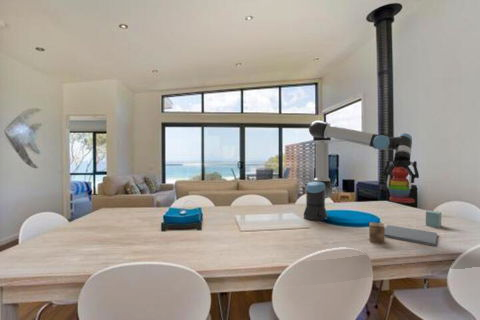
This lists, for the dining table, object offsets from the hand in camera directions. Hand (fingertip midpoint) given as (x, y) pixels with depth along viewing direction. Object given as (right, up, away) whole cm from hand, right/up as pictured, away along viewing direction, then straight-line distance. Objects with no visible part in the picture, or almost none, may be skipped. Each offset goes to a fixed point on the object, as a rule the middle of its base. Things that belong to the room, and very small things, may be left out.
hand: (398, 186), depth 125 cm
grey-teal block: (+32, -25, +18) cm, 44 cm away
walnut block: (-16, -25, -8) cm, 31 cm away
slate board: (+5, -25, 0) cm, 26 cm away
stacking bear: (+2, -8, +2) cm, 9 cm away
